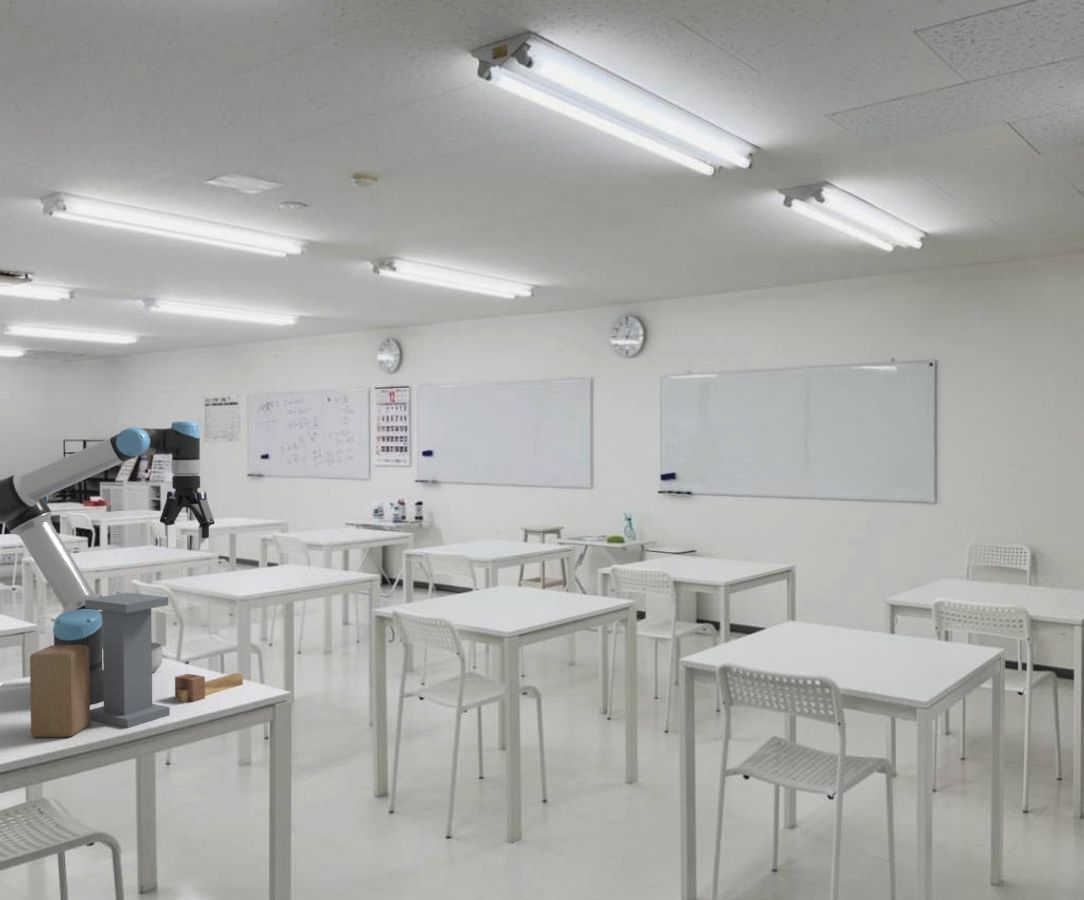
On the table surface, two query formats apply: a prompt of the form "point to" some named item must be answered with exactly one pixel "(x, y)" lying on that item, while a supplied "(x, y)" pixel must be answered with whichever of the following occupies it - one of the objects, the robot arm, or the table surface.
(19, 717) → the table surface
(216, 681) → the marking gauge
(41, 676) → the wooden block
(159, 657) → the teacup
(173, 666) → the table surface
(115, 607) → the tall stand
